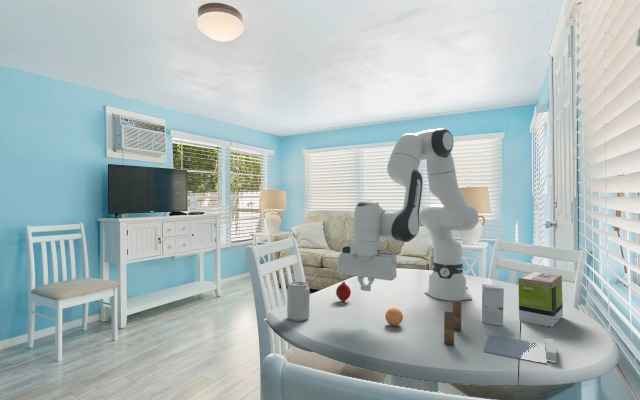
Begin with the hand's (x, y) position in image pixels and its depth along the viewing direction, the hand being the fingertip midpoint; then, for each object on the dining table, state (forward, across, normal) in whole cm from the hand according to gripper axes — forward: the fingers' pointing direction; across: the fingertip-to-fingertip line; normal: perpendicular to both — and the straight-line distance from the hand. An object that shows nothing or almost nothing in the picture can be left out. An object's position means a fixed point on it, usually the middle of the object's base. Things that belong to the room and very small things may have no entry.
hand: (365, 290), depth 117 cm
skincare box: (+10, -37, -20) cm, 43 cm away
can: (+10, +20, +10) cm, 25 cm away
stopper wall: (+10, -52, -1) cm, 53 cm away
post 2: (+10, -28, -7) cm, 30 cm away
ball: (+7, -10, 0) cm, 12 cm away
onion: (+10, +16, -16) cm, 25 cm away
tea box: (+9, -51, -33) cm, 61 cm away
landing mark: (+10, -44, -1) cm, 45 cm away
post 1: (+10, -28, +6) cm, 30 cm away
